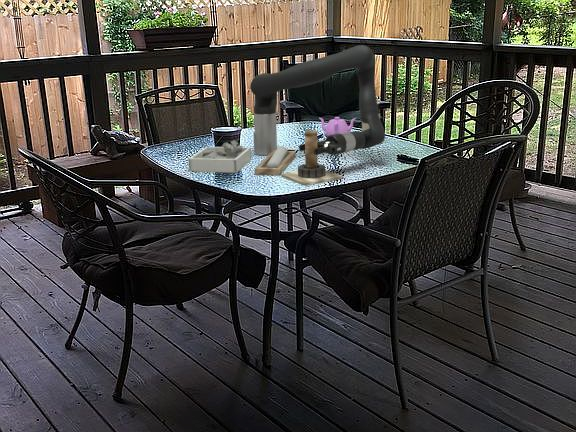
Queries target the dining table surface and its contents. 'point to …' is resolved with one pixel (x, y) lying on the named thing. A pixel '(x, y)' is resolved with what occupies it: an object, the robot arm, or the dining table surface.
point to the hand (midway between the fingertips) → (307, 150)
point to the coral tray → (219, 161)
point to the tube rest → (279, 170)
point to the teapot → (336, 126)
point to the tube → (277, 157)
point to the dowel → (311, 149)
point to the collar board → (313, 180)
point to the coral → (230, 151)
